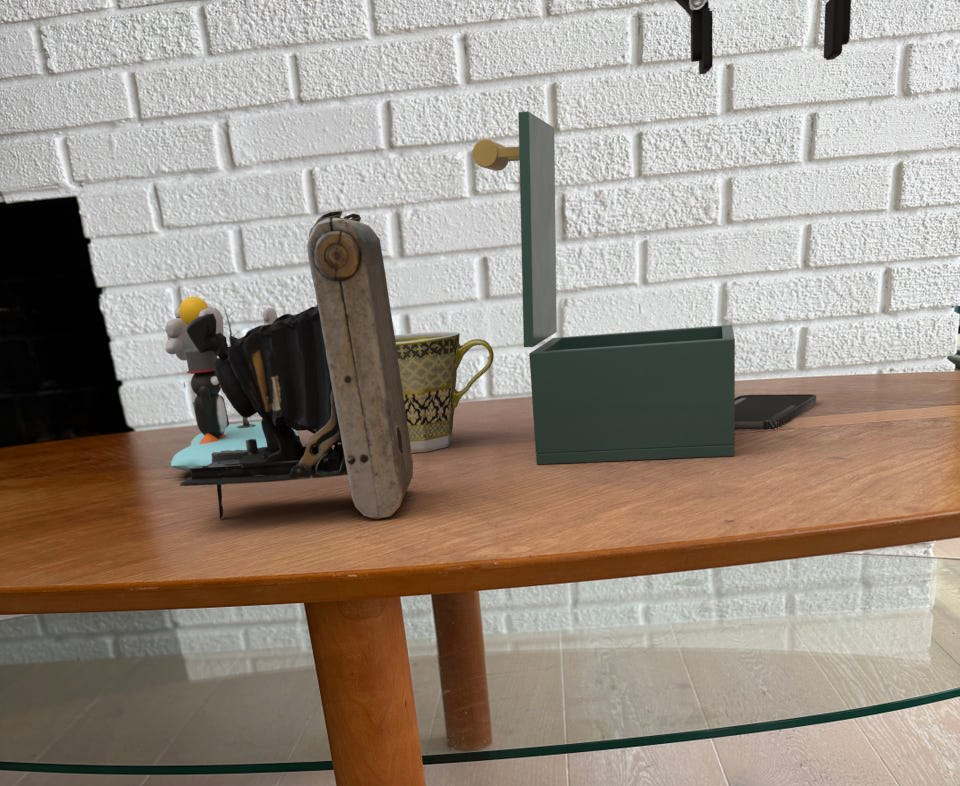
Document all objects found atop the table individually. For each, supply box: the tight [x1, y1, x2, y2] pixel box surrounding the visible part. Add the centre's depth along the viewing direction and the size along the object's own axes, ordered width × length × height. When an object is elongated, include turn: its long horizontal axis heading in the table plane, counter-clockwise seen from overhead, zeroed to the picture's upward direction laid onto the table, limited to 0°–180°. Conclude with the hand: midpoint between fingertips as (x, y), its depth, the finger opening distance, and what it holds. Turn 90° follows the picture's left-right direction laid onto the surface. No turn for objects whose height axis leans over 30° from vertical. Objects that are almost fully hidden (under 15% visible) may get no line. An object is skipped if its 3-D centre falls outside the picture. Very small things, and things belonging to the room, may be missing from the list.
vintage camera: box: [179, 210, 414, 520], centre depth 71 cm, size 10×16×20 cm, turn 88°
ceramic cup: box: [395, 331, 495, 454], centre depth 94 cm, size 13×10×10 cm
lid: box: [472, 110, 558, 348], centre depth 83 cm, size 17×13×5 cm
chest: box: [528, 324, 736, 466], centre depth 85 cm, size 16×13×9 cm
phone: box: [735, 393, 817, 430], centre depth 96 cm, size 8×1×15 cm
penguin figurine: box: [164, 296, 298, 472], centre depth 95 cm, size 20×11×15 cm, turn 1°
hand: (768, 64), depth 78 cm, fingers open, 9 cm apart
